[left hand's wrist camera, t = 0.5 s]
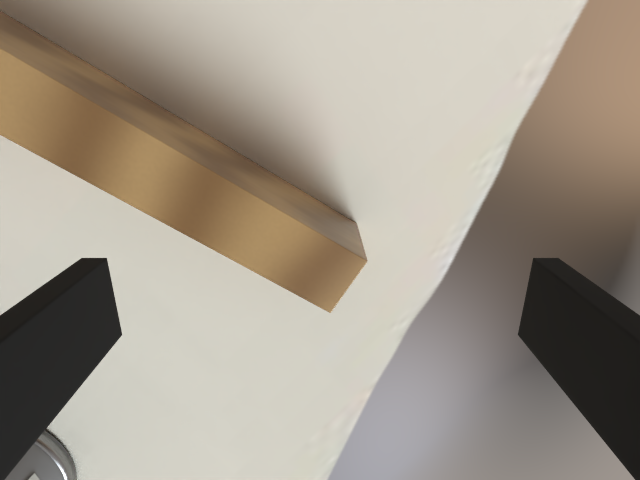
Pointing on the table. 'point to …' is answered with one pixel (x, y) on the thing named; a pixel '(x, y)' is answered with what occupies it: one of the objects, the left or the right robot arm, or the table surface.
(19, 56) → the beam
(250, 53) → the table surface
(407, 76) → the table surface
